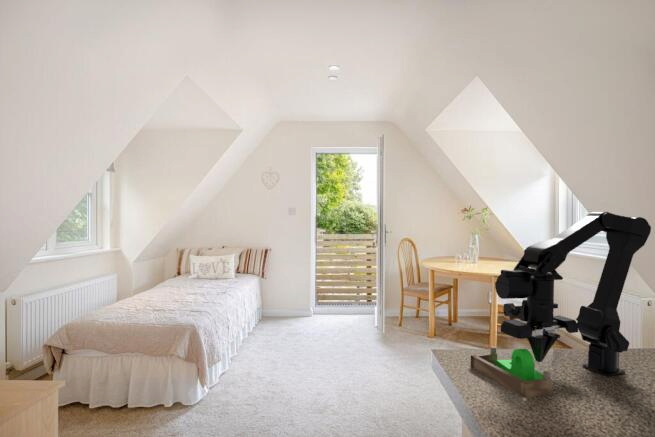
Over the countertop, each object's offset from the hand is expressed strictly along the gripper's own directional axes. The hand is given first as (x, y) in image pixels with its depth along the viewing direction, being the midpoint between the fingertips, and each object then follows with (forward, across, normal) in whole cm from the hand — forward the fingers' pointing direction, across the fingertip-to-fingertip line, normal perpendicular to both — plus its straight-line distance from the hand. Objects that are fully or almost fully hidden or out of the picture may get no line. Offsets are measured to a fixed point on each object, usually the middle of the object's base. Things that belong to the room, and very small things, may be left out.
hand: (538, 361), depth 94 cm
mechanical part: (+4, +5, 0) cm, 6 cm away
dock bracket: (+3, +9, 0) cm, 10 cm away
